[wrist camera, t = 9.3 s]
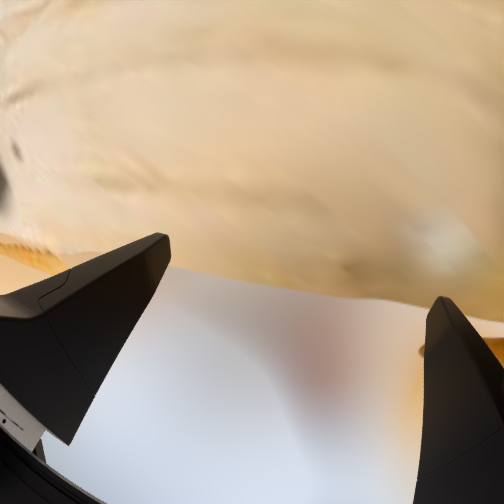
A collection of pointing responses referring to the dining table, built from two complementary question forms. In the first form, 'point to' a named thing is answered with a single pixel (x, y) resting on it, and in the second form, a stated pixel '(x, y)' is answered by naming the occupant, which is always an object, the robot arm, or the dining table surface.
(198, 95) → the dining table surface
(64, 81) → the dining table surface
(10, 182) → the dining table surface
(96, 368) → the robot arm
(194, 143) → the dining table surface
